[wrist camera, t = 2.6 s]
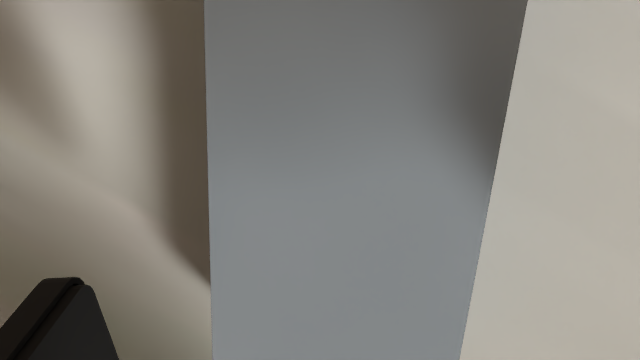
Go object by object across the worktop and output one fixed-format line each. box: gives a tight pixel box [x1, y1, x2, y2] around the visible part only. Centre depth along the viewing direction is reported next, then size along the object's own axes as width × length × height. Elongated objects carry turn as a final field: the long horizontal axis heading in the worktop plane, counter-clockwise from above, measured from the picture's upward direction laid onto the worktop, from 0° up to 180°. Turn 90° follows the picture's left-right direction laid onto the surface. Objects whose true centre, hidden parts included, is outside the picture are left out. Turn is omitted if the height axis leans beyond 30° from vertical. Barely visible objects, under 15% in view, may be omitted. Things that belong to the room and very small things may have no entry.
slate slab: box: [204, 0, 528, 360], centre depth 12 cm, size 16×5×4 cm, turn 177°
